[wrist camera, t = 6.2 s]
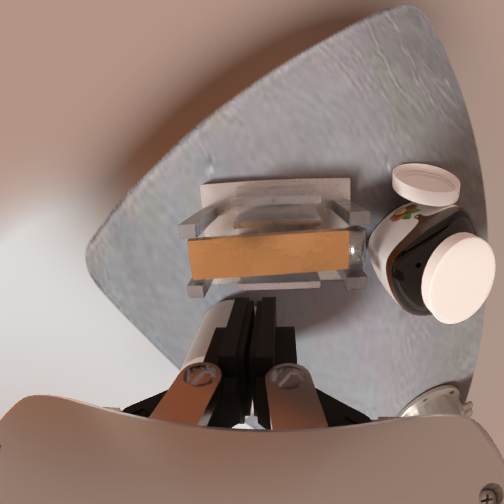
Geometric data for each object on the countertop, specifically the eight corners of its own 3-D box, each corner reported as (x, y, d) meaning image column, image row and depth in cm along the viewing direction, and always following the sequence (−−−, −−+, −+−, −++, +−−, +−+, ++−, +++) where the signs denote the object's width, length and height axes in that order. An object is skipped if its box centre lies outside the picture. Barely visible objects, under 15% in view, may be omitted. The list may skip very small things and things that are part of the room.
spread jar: (380, 290, 28) (424, 354, 17) (332, 203, 26) (371, 232, 15) (459, 234, 25) (524, 271, 14) (423, 145, 23) (495, 144, 12)
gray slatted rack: (347, 177, 25) (378, 185, 17) (345, 275, 28) (369, 316, 20) (202, 184, 26) (171, 194, 18) (213, 279, 29) (191, 322, 21)
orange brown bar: (361, 226, 21) (369, 231, 19) (360, 262, 22) (367, 269, 20) (190, 237, 21) (186, 242, 19) (195, 273, 22) (191, 282, 20)
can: (220, 284, 30) (190, 354, 18) (282, 314, 30) (283, 394, 19) (195, 333, 32) (162, 406, 21) (251, 359, 32) (239, 437, 21)
